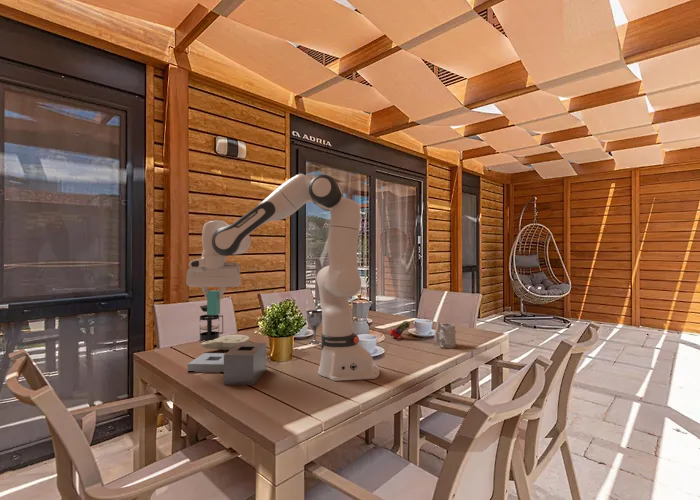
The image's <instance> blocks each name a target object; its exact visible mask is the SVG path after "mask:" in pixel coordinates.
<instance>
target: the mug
mask: <svg viewBox="0 0 700 500" xmlns="http://www.w3.org/2000/svg"><path fill="white" fill-rule="evenodd" d="M456 333H457V332H456V325H455V324H453V323H441V322H440V321H438V320H437V321H436V327H435V332H434V335H433V337H434V343H435V345H436V346H440V348H444V349H445V348H446V349H447V348H448V349H453V348H456V345H457V341H456ZM439 335H440V336H439Z"/></svg>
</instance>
